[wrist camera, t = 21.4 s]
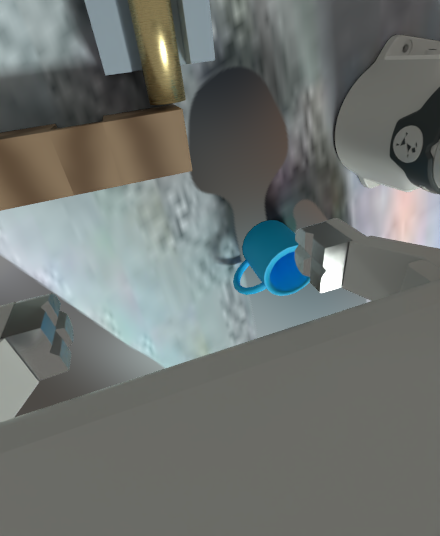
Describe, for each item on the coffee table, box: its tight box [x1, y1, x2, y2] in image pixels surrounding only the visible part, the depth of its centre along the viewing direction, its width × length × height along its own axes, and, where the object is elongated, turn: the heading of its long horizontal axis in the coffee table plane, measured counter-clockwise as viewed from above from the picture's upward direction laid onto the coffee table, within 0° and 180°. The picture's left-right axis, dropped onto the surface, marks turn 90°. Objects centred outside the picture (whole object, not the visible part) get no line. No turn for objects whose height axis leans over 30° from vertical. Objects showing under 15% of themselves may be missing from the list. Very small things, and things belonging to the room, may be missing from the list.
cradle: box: [84, 0, 215, 76], centre depth 27 cm, size 10×9×4 cm
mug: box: [233, 220, 310, 296], centre depth 44 cm, size 12×8×8 cm
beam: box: [0, 104, 192, 211], centre depth 31 cm, size 20×6×5 cm, turn 96°
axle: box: [127, 0, 186, 105], centre depth 26 cm, size 4×14×4 cm, turn 6°
